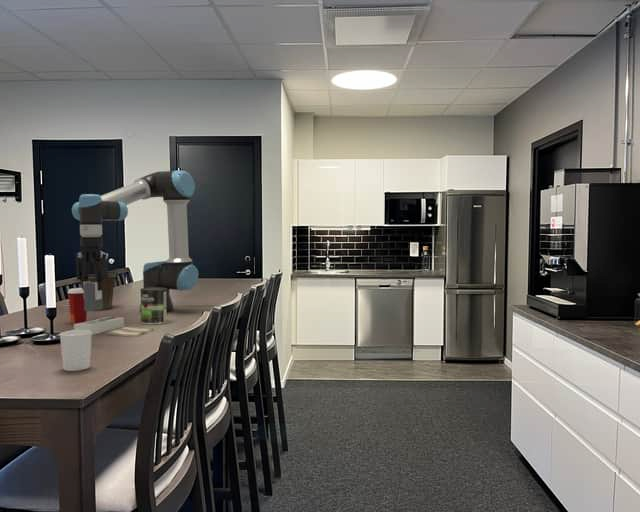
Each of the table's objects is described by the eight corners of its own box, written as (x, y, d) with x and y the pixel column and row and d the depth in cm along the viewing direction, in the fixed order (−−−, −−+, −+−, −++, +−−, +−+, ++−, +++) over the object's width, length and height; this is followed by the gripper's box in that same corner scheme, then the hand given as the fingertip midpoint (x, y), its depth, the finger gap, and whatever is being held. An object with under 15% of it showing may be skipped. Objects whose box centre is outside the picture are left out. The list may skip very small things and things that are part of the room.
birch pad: (125, 328, 198) (125, 326, 198) (153, 330, 195) (153, 328, 195) (105, 335, 186) (105, 332, 186) (135, 336, 183) (135, 334, 183)
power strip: (110, 326, 205) (109, 315, 204) (124, 327, 202) (123, 316, 202) (73, 335, 188) (73, 322, 188) (88, 336, 185) (88, 324, 185)
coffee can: (155, 325, 205) (155, 290, 204) (135, 323, 209) (134, 289, 208) (172, 321, 214) (171, 287, 214) (152, 319, 218) (152, 286, 218)
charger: (93, 308, 194) (92, 282, 194) (102, 308, 193) (102, 282, 193) (84, 310, 189) (83, 283, 189) (93, 310, 188) (93, 283, 188)
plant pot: (122, 308, 247) (122, 275, 246) (88, 312, 235) (87, 277, 234) (107, 305, 258) (107, 273, 257) (74, 308, 246) (73, 275, 245)
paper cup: (92, 321, 213) (91, 288, 212) (82, 324, 206) (81, 290, 205) (74, 321, 214) (74, 287, 213) (63, 324, 206) (63, 289, 206)
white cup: (67, 364, 146) (67, 329, 146) (96, 364, 147) (95, 329, 146) (55, 372, 138) (55, 335, 138) (86, 371, 139) (85, 335, 139)
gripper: (64, 236, 188) (65, 299, 189) (105, 236, 184) (106, 301, 185) (78, 235, 195) (79, 296, 197) (117, 236, 191) (119, 298, 192)
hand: (92, 298), depth 191 cm, fingers closed on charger, 4 cm apart
